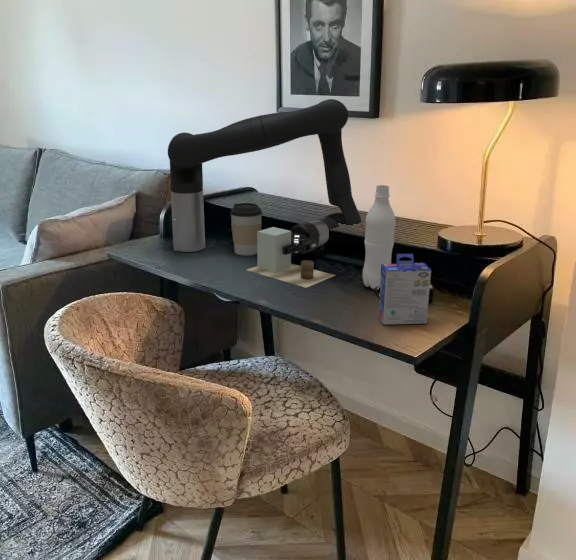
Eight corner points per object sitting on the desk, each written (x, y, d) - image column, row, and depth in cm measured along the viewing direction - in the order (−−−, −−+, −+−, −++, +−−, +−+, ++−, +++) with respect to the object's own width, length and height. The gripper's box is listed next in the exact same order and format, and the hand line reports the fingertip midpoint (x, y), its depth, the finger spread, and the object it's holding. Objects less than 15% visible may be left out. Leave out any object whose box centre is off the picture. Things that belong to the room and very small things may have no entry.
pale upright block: (257, 268, 159) (257, 231, 156) (273, 262, 164) (273, 227, 160) (275, 273, 156) (275, 235, 152) (290, 267, 160) (291, 231, 157)
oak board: (246, 274, 158) (245, 255, 157) (276, 263, 167) (276, 245, 165) (306, 292, 146) (306, 271, 145) (335, 279, 155) (336, 260, 153)
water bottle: (394, 291, 148) (401, 189, 139) (364, 291, 147) (370, 189, 139) (387, 281, 154) (394, 183, 146) (359, 281, 154) (364, 183, 146)
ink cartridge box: (420, 314, 134) (426, 251, 129) (428, 324, 129) (434, 259, 124) (376, 315, 133) (380, 252, 129) (382, 325, 128) (386, 260, 123)
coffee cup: (264, 251, 178) (264, 201, 173) (260, 261, 169) (259, 208, 164) (234, 250, 178) (233, 200, 173) (228, 259, 170) (226, 207, 165)
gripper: (290, 218, 172) (250, 229, 160) (330, 226, 163) (292, 238, 151) (289, 243, 174) (251, 256, 162) (330, 253, 166) (292, 267, 154)
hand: (271, 247), depth 157 cm, fingers open, 8 cm apart
